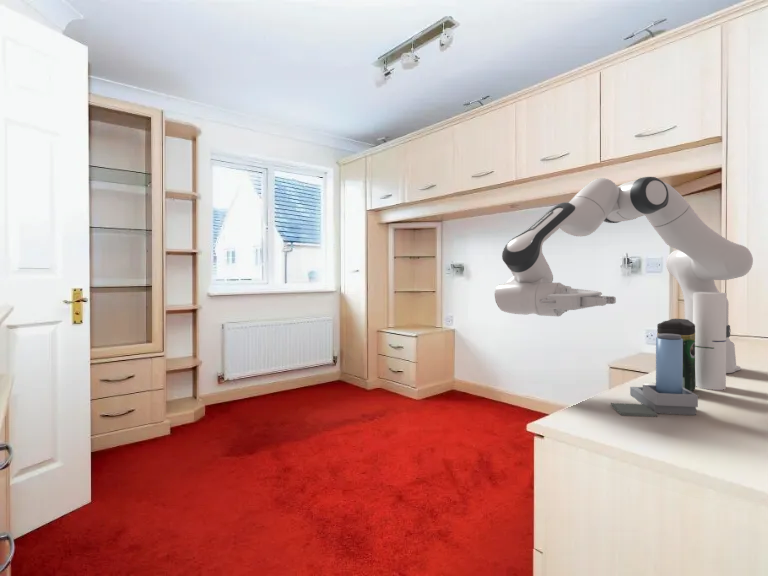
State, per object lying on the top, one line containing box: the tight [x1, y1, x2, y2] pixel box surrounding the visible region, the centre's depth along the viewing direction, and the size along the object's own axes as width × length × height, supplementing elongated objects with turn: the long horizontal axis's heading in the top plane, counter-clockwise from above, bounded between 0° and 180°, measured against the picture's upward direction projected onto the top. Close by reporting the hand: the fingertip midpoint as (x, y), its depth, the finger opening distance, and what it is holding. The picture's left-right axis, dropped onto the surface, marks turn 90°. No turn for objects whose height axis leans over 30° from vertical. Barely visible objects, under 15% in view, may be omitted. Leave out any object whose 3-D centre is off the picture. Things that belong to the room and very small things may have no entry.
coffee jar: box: [656, 318, 697, 392], centre depth 114 cm, size 10×8×19 cm
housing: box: [629, 384, 699, 416], centre depth 101 cm, size 16×8×4 cm, turn 169°
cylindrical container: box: [693, 292, 728, 391], centre depth 116 cm, size 7×7×25 cm
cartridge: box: [655, 334, 683, 394], centre depth 97 cm, size 5×5×15 cm
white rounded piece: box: [642, 381, 656, 386], centre depth 106 cm, size 4×4×3 cm
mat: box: [610, 402, 658, 417], centre depth 97 cm, size 7×7×1 cm
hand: (610, 301), depth 105 cm, fingers open, 6 cm apart
